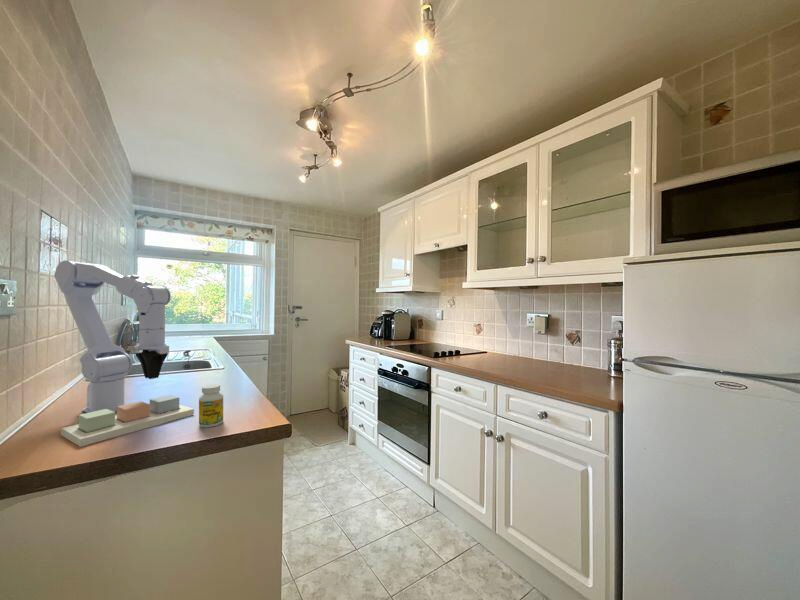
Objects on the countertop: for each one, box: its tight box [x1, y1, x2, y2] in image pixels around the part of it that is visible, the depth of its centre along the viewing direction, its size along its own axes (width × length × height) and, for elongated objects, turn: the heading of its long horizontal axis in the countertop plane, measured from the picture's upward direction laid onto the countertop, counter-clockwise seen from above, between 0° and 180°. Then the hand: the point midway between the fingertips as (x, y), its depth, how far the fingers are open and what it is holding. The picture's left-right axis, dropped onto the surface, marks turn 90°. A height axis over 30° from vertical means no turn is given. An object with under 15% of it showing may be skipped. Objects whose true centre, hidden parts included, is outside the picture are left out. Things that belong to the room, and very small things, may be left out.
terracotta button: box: [116, 400, 150, 423], centre depth 82 cm, size 5×5×3 cm
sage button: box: [78, 409, 116, 433], centre depth 76 cm, size 5×5×3 cm
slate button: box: [149, 394, 180, 415], centre depth 88 cm, size 5×5×3 cm
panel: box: [60, 403, 195, 448], centre depth 82 cm, size 12×23×2 cm, turn 150°
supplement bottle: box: [198, 384, 224, 428], centre depth 82 cm, size 5×5×10 cm
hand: (151, 377), depth 90 cm, fingers closed
